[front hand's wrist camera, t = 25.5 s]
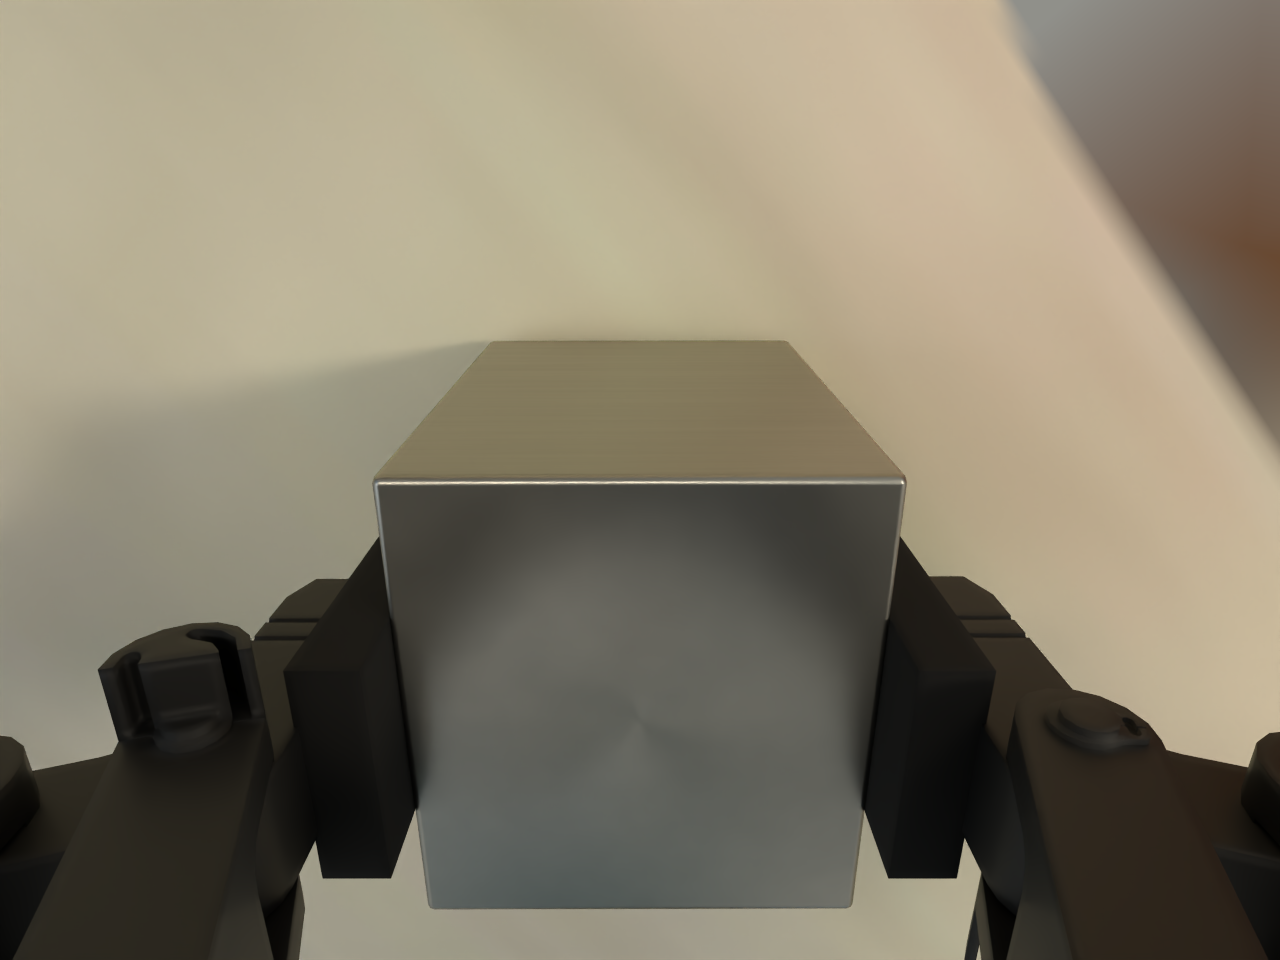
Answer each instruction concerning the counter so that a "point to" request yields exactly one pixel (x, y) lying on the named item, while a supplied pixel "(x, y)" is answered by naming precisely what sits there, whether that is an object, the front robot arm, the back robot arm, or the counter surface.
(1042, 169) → the counter surface
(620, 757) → the metal block
